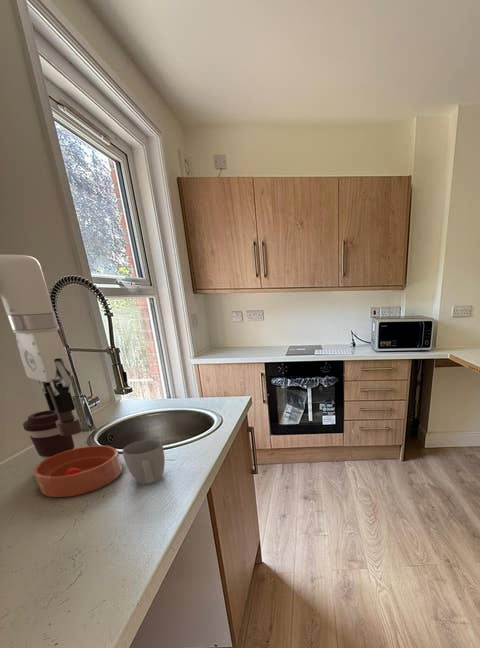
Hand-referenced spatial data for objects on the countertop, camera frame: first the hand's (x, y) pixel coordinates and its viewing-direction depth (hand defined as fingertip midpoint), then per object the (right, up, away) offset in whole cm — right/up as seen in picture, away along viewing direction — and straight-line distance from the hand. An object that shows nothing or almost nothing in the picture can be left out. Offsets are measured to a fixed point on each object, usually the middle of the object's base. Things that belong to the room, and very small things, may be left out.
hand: (62, 409), depth 77 cm
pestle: (0, -5, +2) cm, 6 cm away
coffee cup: (-16, -14, +22) cm, 31 cm away
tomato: (-5, -16, +10) cm, 19 cm away
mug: (+15, -18, +10) cm, 25 cm away
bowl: (-4, -18, +12) cm, 22 cm away
